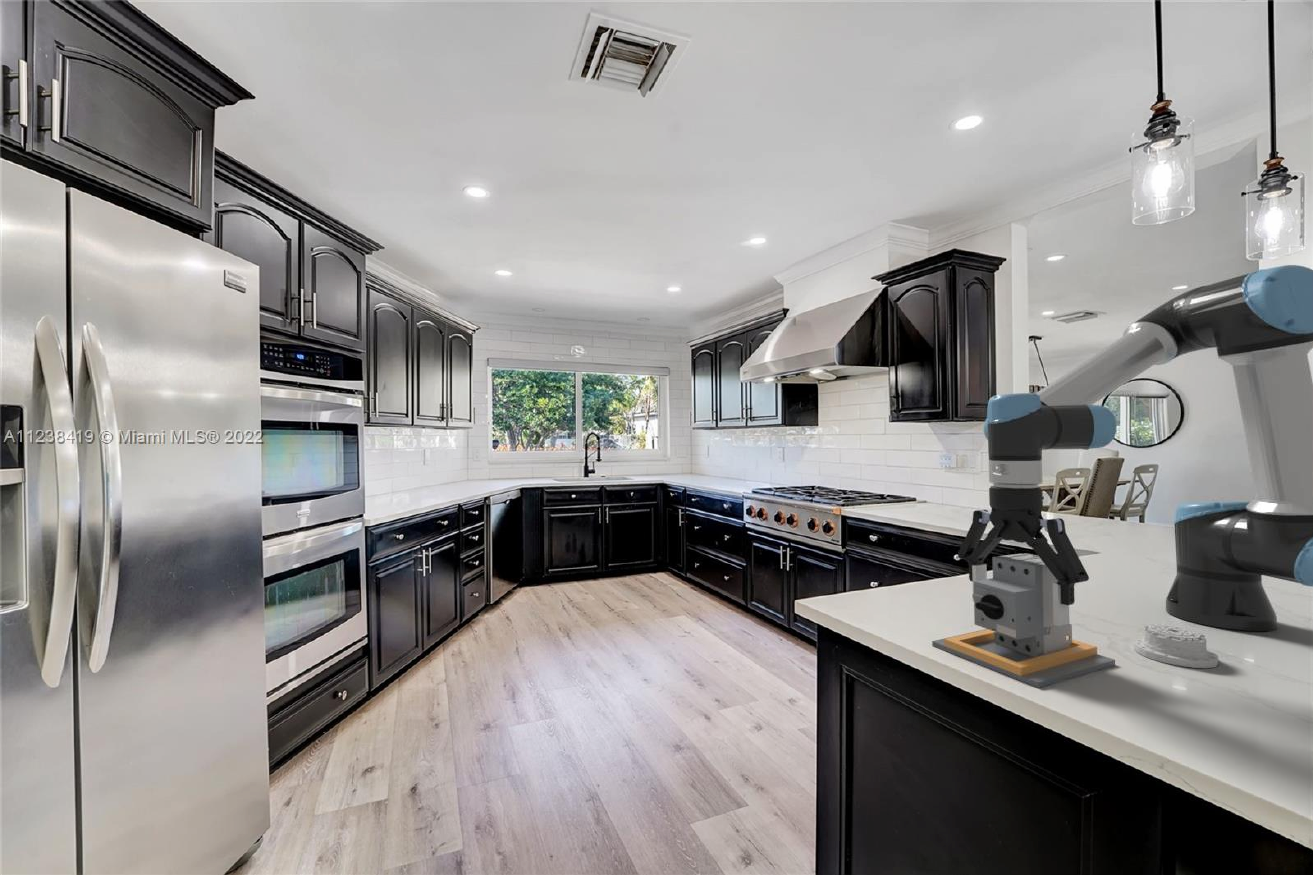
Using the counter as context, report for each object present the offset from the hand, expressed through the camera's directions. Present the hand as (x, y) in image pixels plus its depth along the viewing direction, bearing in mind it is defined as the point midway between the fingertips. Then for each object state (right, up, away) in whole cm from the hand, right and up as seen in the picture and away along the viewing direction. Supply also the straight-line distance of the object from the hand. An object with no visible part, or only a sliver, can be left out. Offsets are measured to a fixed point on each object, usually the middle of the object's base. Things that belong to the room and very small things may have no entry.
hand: (1018, 612), depth 91 cm
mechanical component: (+25, -7, -2) cm, 26 cm away
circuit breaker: (0, -7, 0) cm, 7 cm away
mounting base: (0, -7, 0) cm, 7 cm away
